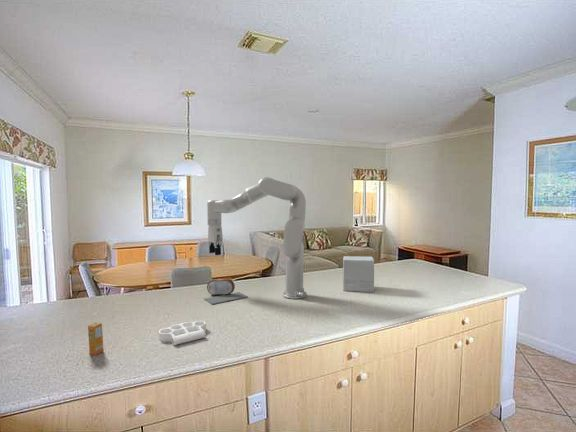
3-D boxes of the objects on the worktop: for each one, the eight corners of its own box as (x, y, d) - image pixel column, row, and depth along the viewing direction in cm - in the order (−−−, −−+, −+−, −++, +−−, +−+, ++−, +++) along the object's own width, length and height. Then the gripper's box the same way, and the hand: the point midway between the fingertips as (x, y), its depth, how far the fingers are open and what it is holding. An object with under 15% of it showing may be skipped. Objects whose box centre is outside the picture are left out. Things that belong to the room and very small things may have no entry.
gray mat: (247, 297, 173) (247, 296, 173) (212, 304, 161) (212, 303, 161) (239, 293, 181) (239, 292, 181) (204, 299, 169) (204, 298, 169)
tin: (235, 293, 178) (234, 278, 178) (233, 294, 175) (232, 279, 175) (208, 294, 179) (207, 279, 179) (206, 295, 176) (205, 280, 176)
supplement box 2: (372, 286, 194) (372, 256, 194) (374, 292, 181) (374, 260, 180) (343, 285, 198) (343, 255, 197) (342, 291, 184) (343, 259, 183)
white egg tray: (164, 350, 114) (155, 335, 126) (213, 337, 124) (200, 325, 136) (164, 340, 114) (155, 327, 126) (213, 329, 124) (200, 317, 136)
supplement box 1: (88, 354, 111) (86, 325, 110) (97, 349, 114) (96, 321, 113) (95, 355, 109) (94, 326, 109) (104, 351, 113) (103, 322, 112)
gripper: (227, 222, 176) (228, 255, 177) (214, 221, 190) (215, 251, 191) (214, 223, 171) (214, 256, 172) (202, 221, 185) (202, 252, 186)
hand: (215, 253), depth 181 cm, fingers open, 7 cm apart
